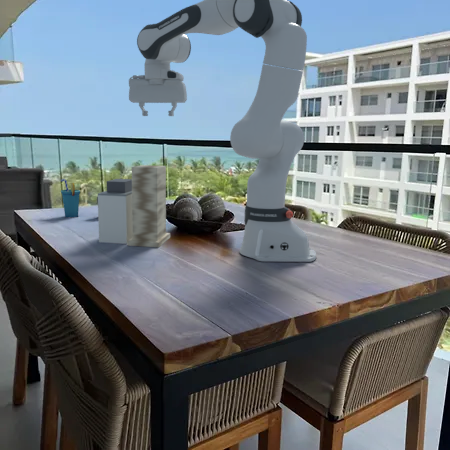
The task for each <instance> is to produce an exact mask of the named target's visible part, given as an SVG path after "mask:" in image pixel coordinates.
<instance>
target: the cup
mask: <svg viewBox="0 0 450 450" xmlns="http://www.w3.org/2000/svg"><path fill="white" fill-rule="evenodd" d="M60 182H64V185H65V189H61V190H60V193H61V195H62V196H61V197H62V201H63V210H64V211H63V212H64V217H65V218H68V217H73V218H78V217H79V211H80V210H79V208H80V207H79V206H80V205H79V204H80V194H81V190H80V189H75V182H72V183H71V187H70V189H69V186H68V181H67V180H66V178H62V179H60Z"/></svg>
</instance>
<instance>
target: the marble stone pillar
mask: <svg viewBox="0 0 450 450" xmlns="http://www.w3.org/2000/svg"><path fill="white" fill-rule="evenodd" d="M166 169H167V166H166V165H147V164H146V165H144V164H141V165H136V166H131V179H132V229H133V237H132V238H131V239H129V240H128V241H127V244H126V245H127V246H129V247H130V246H131V247H132V246H133V247H148V248H160V247H161V246H162V245H164V243H166V242H167V241H168V240H169V239H170V238H171V232H167V206H166V205H167V190H166V189H167V188H166V187H167V171H166Z"/></svg>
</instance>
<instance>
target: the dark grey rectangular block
mask: <svg viewBox="0 0 450 450" xmlns="http://www.w3.org/2000/svg"><path fill="white" fill-rule="evenodd" d="M106 191H107V192H110V193H127V192H130V191H132V178H114V179H111V180H106Z"/></svg>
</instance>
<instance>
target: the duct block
mask: <svg viewBox="0 0 450 450" xmlns="http://www.w3.org/2000/svg"><path fill="white" fill-rule="evenodd" d="M97 197H98V203H97V215H98V216H97V217H98V242H99V243H103V244H104V243H106V244H123V245H125V244H126V245H127V241H128V240H129V239H131V238H132V237H133V229H132V191H130V192H127V193H110V192H107V190H104V191H102V192H99V193H97Z"/></svg>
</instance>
